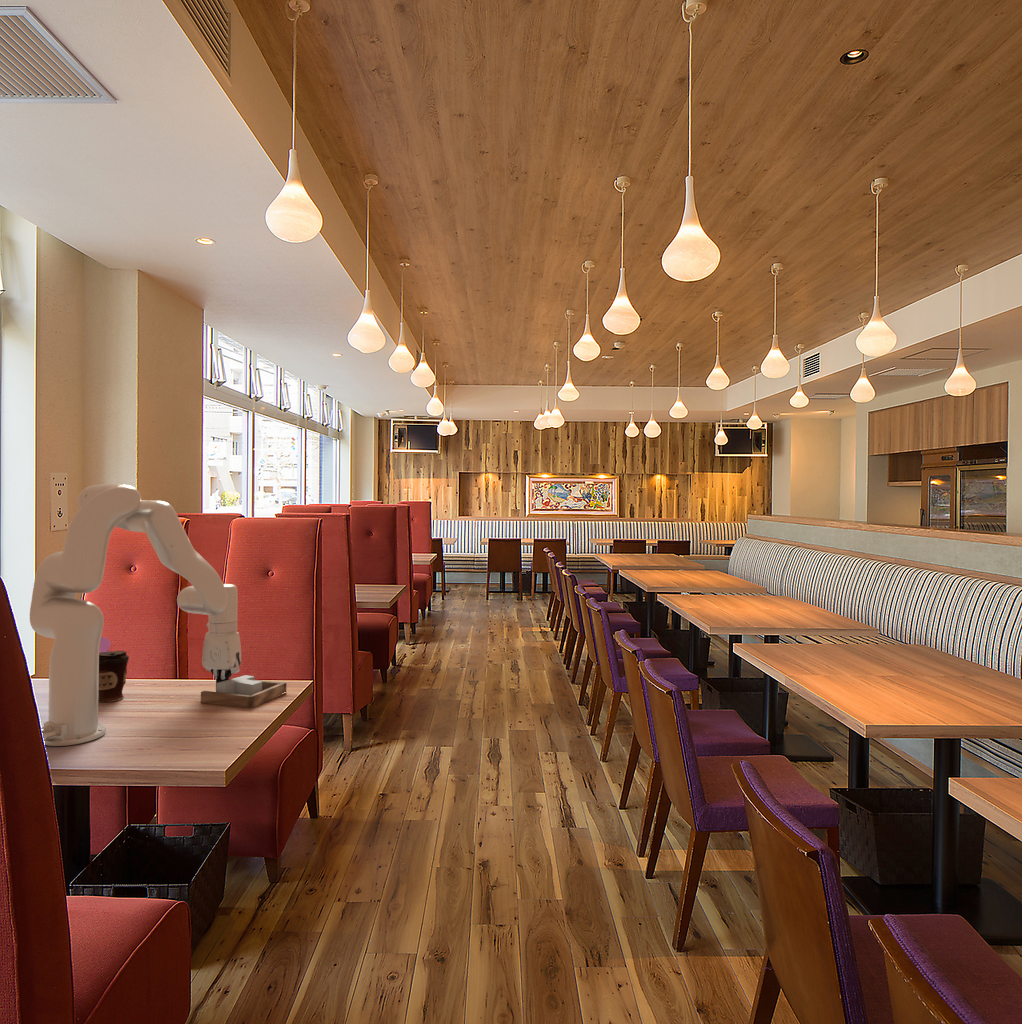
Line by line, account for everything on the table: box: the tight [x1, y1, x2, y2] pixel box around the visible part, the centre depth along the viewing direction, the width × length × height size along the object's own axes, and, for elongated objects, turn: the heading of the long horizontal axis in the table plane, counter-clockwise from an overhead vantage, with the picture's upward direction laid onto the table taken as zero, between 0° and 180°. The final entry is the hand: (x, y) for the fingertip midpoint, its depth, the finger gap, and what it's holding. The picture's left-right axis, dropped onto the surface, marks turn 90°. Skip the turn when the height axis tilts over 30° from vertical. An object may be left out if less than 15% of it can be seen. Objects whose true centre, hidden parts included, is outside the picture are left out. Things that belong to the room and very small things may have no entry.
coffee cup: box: [98, 650, 130, 703], centre depth 180 cm, size 9×8×13 cm
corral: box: [200, 679, 287, 709], centre depth 183 cm, size 15×16×3 cm
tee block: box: [217, 674, 262, 695], centre depth 182 cm, size 10×10×5 cm
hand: (222, 692), depth 185 cm, fingers closed
